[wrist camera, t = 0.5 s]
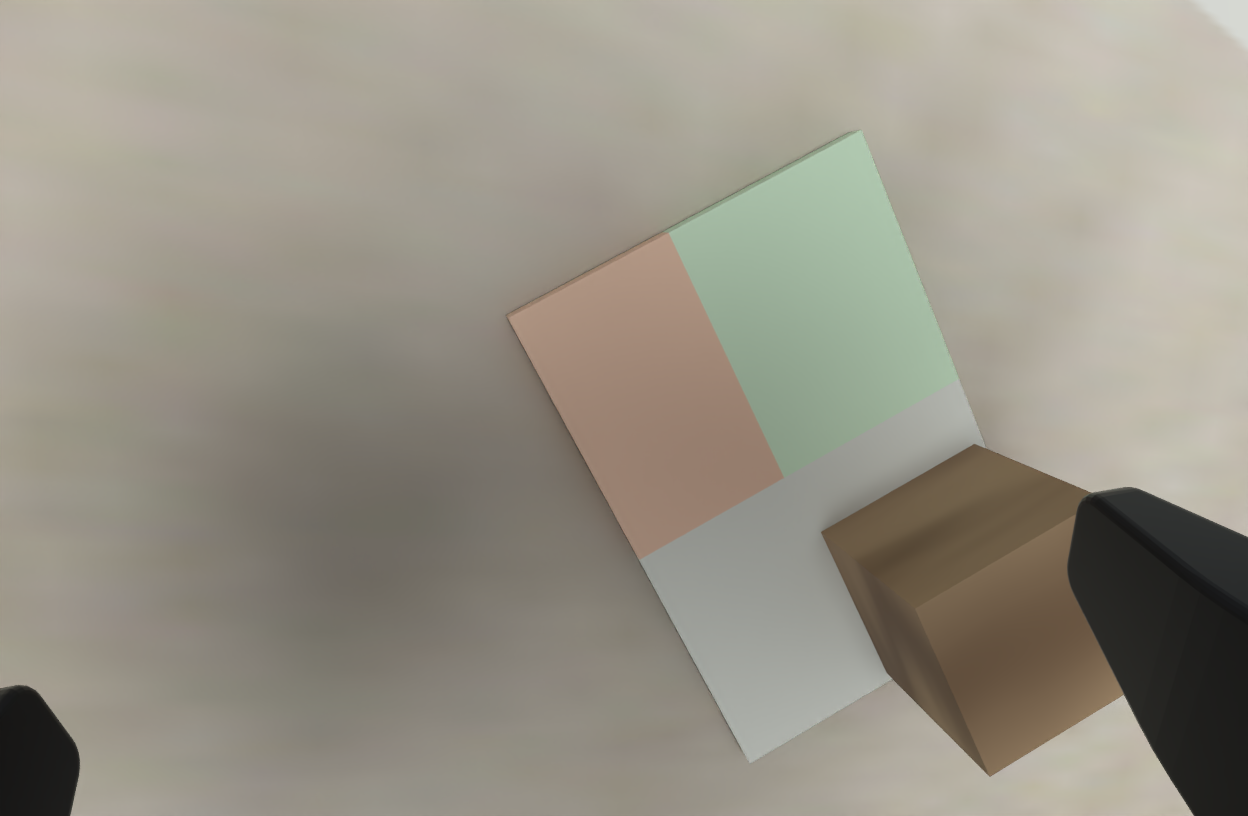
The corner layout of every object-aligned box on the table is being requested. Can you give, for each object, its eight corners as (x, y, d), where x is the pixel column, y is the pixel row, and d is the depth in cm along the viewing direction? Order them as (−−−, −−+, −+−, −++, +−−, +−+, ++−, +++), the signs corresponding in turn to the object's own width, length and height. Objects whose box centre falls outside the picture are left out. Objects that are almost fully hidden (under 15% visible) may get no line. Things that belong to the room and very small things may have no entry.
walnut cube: (1031, 587, 24) (1164, 669, 19) (886, 672, 23) (989, 776, 19) (974, 443, 22) (1103, 497, 18) (820, 531, 22) (914, 608, 18)
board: (1027, 581, 24) (1042, 590, 24) (742, 750, 24) (750, 763, 23) (849, 132, 21) (861, 129, 20) (506, 315, 20) (508, 318, 19)
